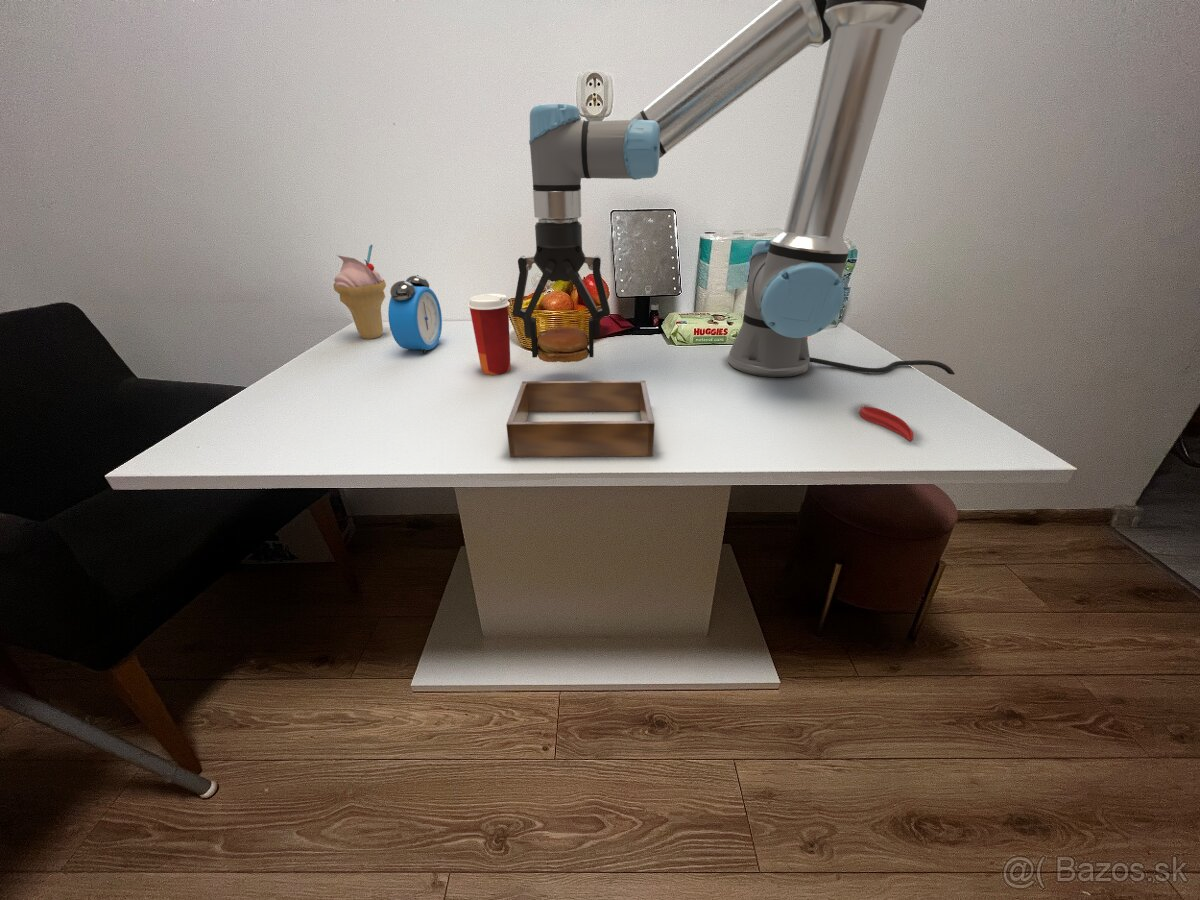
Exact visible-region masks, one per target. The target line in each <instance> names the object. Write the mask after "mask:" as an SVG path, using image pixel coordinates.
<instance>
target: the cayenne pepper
mask: <svg viewBox="0 0 1200 900" xmlns="http://www.w3.org/2000/svg"><path fill="white" fill-rule="evenodd" d="M859 415H860V417H861V418H862V419H864V420H866V421H868V422H870V423H873V424H876V425H879V426H882V427H884V428H886V429H888V430H890V431H892V432H894V433H896V434H898V435H900V436H902V437H903V438H905V439H906V440H907V441H909V442H912V441H913V439H914V435H915V434H914V431H913V430H912V428H911V427H910V426H909V424H908V423H906V421H905V420H903V419H902V418H900V416H897V415H896V414H893V413H891V412H889V411H886V410H885V409H884V410H883V409H881V408H877V407H873V406H867V405H866V404H865V405H863V406H862V407H860V409H859Z"/></svg>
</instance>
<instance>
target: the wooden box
mask: <svg viewBox="0 0 1200 900" xmlns="http://www.w3.org/2000/svg"><path fill="white" fill-rule="evenodd" d="M650 401H651V400H650V396H649V391H648V387H647V382H646V380H545V381H544V380H542V381H541V380H539V381H538V380H536V381H535V380H534V381H532V380H531V381H528V380H527V381H522V382H521V384H520V387H519V389H518V392H517V395H516V398H515V401H514V403H513V406H512V407H511V408H512V409H511V411H510V414H509V417H508V420H507V422H506V433H507V434H506V435H507V442H508V443H507V444H508V452H509V453H508V454H509V457H510V458H525V457H526V458H529V457H530V458H543V457H544V458H548V457H550V458H552V457H554V458H555V457H556V458H558V457H559V458H560V457H561V458H562V457H563V458H564V457H566V458H569V457H654V442H655V441H654V440H655V420H654V415H653V411H652V410H653V409H652V406H651V402H650ZM537 412H538V413H540V412H541V413H544V412H545V413H549V412H550V413H551V412H554V413H555V412H556V413H557V412H559V413H561V412H565V413H566V412H639V414H640V420H578V421H577V420H572V421H571V420H569V421H568V420H567V421H562V420H561V421H557V420H555V421H553V420H552V421H527V420H528V416H529V413H537Z"/></svg>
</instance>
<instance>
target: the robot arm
mask: <svg viewBox="0 0 1200 900" xmlns="http://www.w3.org/2000/svg"><path fill="white" fill-rule="evenodd" d="M927 1H928V0H777V1H775V2H774V3H773V4H772V5H770V6H769V7H768V8H767V9H766V10H764V11H763V12H762V13H761V14H759V15H758V16H757V17H756V18H754V19H753V20H752V21H751V22H750V23H748V24H747V25H746V26H744V27H743V28H741V30H739V31H738V32H737V33H736V34H735V35H734V36H732V37H731V38H730V39H729V40H727V41H726V42H725V43H724V44H722V45H721V46H720V47H718V48H717V49H716V50H715V51H714V52H712V53H711V54H710V55H709V56H708V57H706V58H705V59H704V60H703V61H702V62H700V63H699V64H697V65H696V66H695V67H694V68H692V69H691V70H690V71H689V72H688V73H687V74H685V75H684V76H683V77H682V78H680V79H679V80H678V81H676V82H675V83H674V84H673V85H671V86H670V87H669V88H667V90H666V91H664V92H663V93H661V95H659V96H657V98H655V100H653V101H652V102H651V103H649V104H648V105H647V106H646V107H644V108H643V109H642V110H641V111H640V112H638V113H637V114H635V115H634V116H633V117H632V118H630V119H618V120H594V121H590V120H584V119H582V118H581V116H580V115H581V113H580V109H579V107H578V106H577V105H575V104H571V103H541V104H537V105H535V106H533V107H532V108H531V109H530V111H529V139H528V145H529V150H530V151H529V152H530V163H531V176H532V198H533V200H532V201H533V213H534V219H537V220H538V221H537V222H535V224H534V231H535V254H534V255H531V256H525V255H521V256H520V257H519V258H518V259H517V266H518V271H519V272H518V278H517V280H518V281H517V285H516V290H515V297H514V302H513V308H512V316H513V317H514V318H519V319H522V321H523V327H524V337H525V338H526V339H530V342H531V343H530V344H531V355H532V356H531V357H532V358H533V359H534V358H538V352H539V351H538V342H537V338H538V327H537V326H538V325H537V317H532V316H533V313H534V311H535V310H536V307H537V305H538V303H539V301H540V299H541V295H542V294H543V292H544V290H545V288H546V285H547V284H548V282H549V281H550V282H552V283H553V282H559V281H561V282H565V283H566V282H570V281H571V282H572V284H573V285H574V287H575V289H576V290H577V293H578V294H579V296H580V298H581V299H582V301H583V303H584V305H585V306H586V309H587V311H588V312H589V314H590V316H589V317H588V349H589V356H588V358H594V353H595V352H594V351H595V349H594V348H595V347H594V346H595V345H594V343H595V342H594V341H595V340H594V339H599V338H600V336H601V319H604V318H608V317H609V316H610V315H611V309H610V304H609V300H608V296H607V292H606V288H605V285H604V280H603V277H602V272H601V263H602V259H601V256H600V255H595V256H590V255H586V254H585V253H584V251H583V226H582V223H581V221H579V219H580V218H582V185H581V182H582V179H588V180H589V179H609V180H610V179H613V180H617V179H618V180H619V179H620V180H625V179H626V180H629V179H630V180H633V181H634V180H636V181H637V180H642V179H653V178H655V177H656V176H657V174H658V172H659V166H660V159H661V158H662V157H664V155H666V154H667V153H669V152H671V150H672V149H674V148H675V147H676V146H678V145H679V144H680V143H681V142H683V141H684V140H686V139H687V138H688V137H690V136H691V135H693V134H694V133H695V132H697V131H698V130H699V129H700V128H701V127H703V126H704V125H706V124H707V123H709V122H710V121H711V120H712V119H713V118H715V117H716V116H718V115H719V114H720V113H722V112H723V111H724V110H726V109H727V108H729V106H731V105H732V104H733V103H735V102H736V101H737V100H739V99H741V98H742V97H743V96H744V95H746V94H747V93H749V92H750V91H751V90H752V89H754V88H755V87H756V86H758V85H759V84H760V83H762V82H763V81H765V80H766V79H767V78H768V77H770V76H771V75H772V74H774V73H775V72H776V71H778V70H779V69H780V68H782V67H783V66H784V65H786V64H787V63H788V62H789V61H791V60H792V59H794V58H795V57H797V56H798V55H799V54H800V53H802V52H803V51H804V50H805V49H807V48H808V47H813V48H817V49H818V48H820V47H821V46H823V45H824V44H825V43H827V42H828V41H829V43H828V47H827V51H826V54H825V59H824V63H823V66H822V71H821V75H820V79H819V84H818V88H817V92H816V94H815V95H816V96H815V100H814V103H813V108H812V112H811V116H810V120H809V125H808V128H807V133H806V137H805V140H804V145H803V148H802V153H801V157H800V161H799V164H798V169H797V173H796V178H795V182H794V185H793V189H792V190H793V191H792V194H791V197H790V201H789V206H788V210H787V213H786V218H785V223H784V227H783V229H782V230H781V232H779V233H778V234H777V235H775V236H774V237H772V238H771V239H770V240H761V241H760V240H759V241H757V242H755V243H754V245H753V246H752V248H751V249H752V250H751V255H750V256H749V271H748V279H747V286H746V295H745V302H744V308H743V309H744V310H743V318H742V324H741V327H740V328H739V331H738V333H737V335H736V337H735V339H734V342H733V344H732V346H731V348H730V350H729V354H728V364H729V365H730V366H731V367H732V368H734V369H736V370H738V371H740V372H742V373H746V374H749V375H753V376H759V377H769V378H787V377H795V376H799V375H803V374H805V373H806V372H807V371H808V370H809V366H810V363H814V364H819V365H825V366H828V367H829V366H830V367H835V368H840V369H845V370H848V371H849V370H850V371H854V372H860V373H870V374H881V373H886V372H888V371H890V370H892V369H894V368H896V367H900V366H933V367H937V368H939V369H942V370H943V371H945V372H946V373H947V374H948V375H955V374H956V373H955V372H954V370H953V369H952V368H951V366H949V365H947V364H945V363H943V362H940V361H937V360H928V359H915V360H895V361H893V362H891V363H889V364H888V365H886V366H883V367H865V366H864V367H863V366H857V365H853V364H849V363H842V362H839V361H838V362H837V361H833V360H832V361H831V360H827V359H822V358H816V357H810V356H811V355H810V350H809V343H808V342H809V341H808V337H810V336H811V337H812V336H814V335H816V334H818V333H820V332H821V331H823V330H825V329H826V328H827V327H829V326H830V325H831V324H832V323H833V322H834V321H835V320H836V318H837V317H838V315H839V314H840V311H841V310H842V308H843V304H844V300H845V299H844V298H845V289H844V283H843V281H842V280H843V279H842V276H843V273H844V270H845V266H846V263H847V259H848V257H849V253H850V249H849V247H848V246H847V243H846V242H845V240H844V237H843V236H844V234H845V230H846V226H847V223H848V220H849V216H850V213H851V209H852V206H853V203H854V200H855V195H856V193H857V190H858V187H859V184H860V180H861V176H862V173H863V169H864V166H865V163H866V159H867V156H868V152H869V149H870V146H871V143H872V140H873V136H874V133H875V129H876V126H877V123H878V119H879V117H880V113H881V110H882V107H883V103H884V100H885V96H886V93H887V90H888V86H889V82H890V80H891V76H892V73H893V69H894V67H895V63H896V60H897V56H898V53H899V51H900V46H901V43H902V39H903V37H904V35H905V34H906V33H907V31H909V30H910V29H911V28H912V27H913V26H915V25H916V24H917V23H918V22H919V21H920V20H921V19H922V17H923V14H924V11H925V8H926V5H927ZM533 264H535V265H536V267H537V268H538V269H539V271H540V272H541V273H542V275H541V277H540V279H539V281H538V283H537V286H536V287H535V289H534V291H533V294H532V297H531V298H530V300H529V303H528V305H527V307H526V309H523V304H524V299H525V293H526V288H527V283H528V277H529V271H531V269H532V268H533ZM585 264H586V265H587V268H588V269H589V270H590V271H592V277H593V280H594V285H595V288H596V292H597V295H598V300H599V304H600V307H601V308H600V309H598V307H597V304H596V303H595V301H594V299H593V298H592V295H591V294H590V292H589V290H588V289H587V287H586V285H585V283H584V281H583V279H582V277H581V274H580V273H579V272H580V270H581V269H582V267H583V266H584V265H585Z"/></svg>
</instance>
